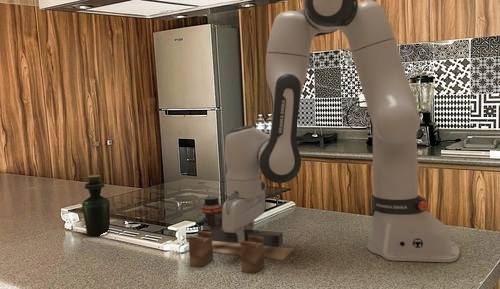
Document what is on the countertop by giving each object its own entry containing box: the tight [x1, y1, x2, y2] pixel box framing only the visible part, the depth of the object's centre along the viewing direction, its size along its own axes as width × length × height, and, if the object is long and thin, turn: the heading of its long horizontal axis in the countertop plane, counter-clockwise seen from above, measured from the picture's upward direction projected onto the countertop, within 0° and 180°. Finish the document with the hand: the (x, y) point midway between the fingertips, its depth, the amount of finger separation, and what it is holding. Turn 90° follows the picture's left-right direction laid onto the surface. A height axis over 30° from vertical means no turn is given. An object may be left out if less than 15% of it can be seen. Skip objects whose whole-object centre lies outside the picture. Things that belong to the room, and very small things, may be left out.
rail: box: [209, 227, 284, 247], centre depth 134 cm, size 20×3×3 cm, turn 67°
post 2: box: [240, 236, 265, 274], centre depth 121 cm, size 4×5×7 cm, turn 157°
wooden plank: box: [212, 241, 294, 261], centre depth 135 cm, size 24×8×1 cm, turn 67°
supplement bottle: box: [201, 195, 223, 232], centre depth 150 cm, size 6×6×11 cm
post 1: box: [188, 230, 214, 268], centre depth 127 cm, size 4×5×7 cm, turn 157°
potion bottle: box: [81, 174, 111, 238], centre depth 155 cm, size 8×8×18 cm
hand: (245, 239), depth 134 cm, fingers closed on rail, 3 cm apart
